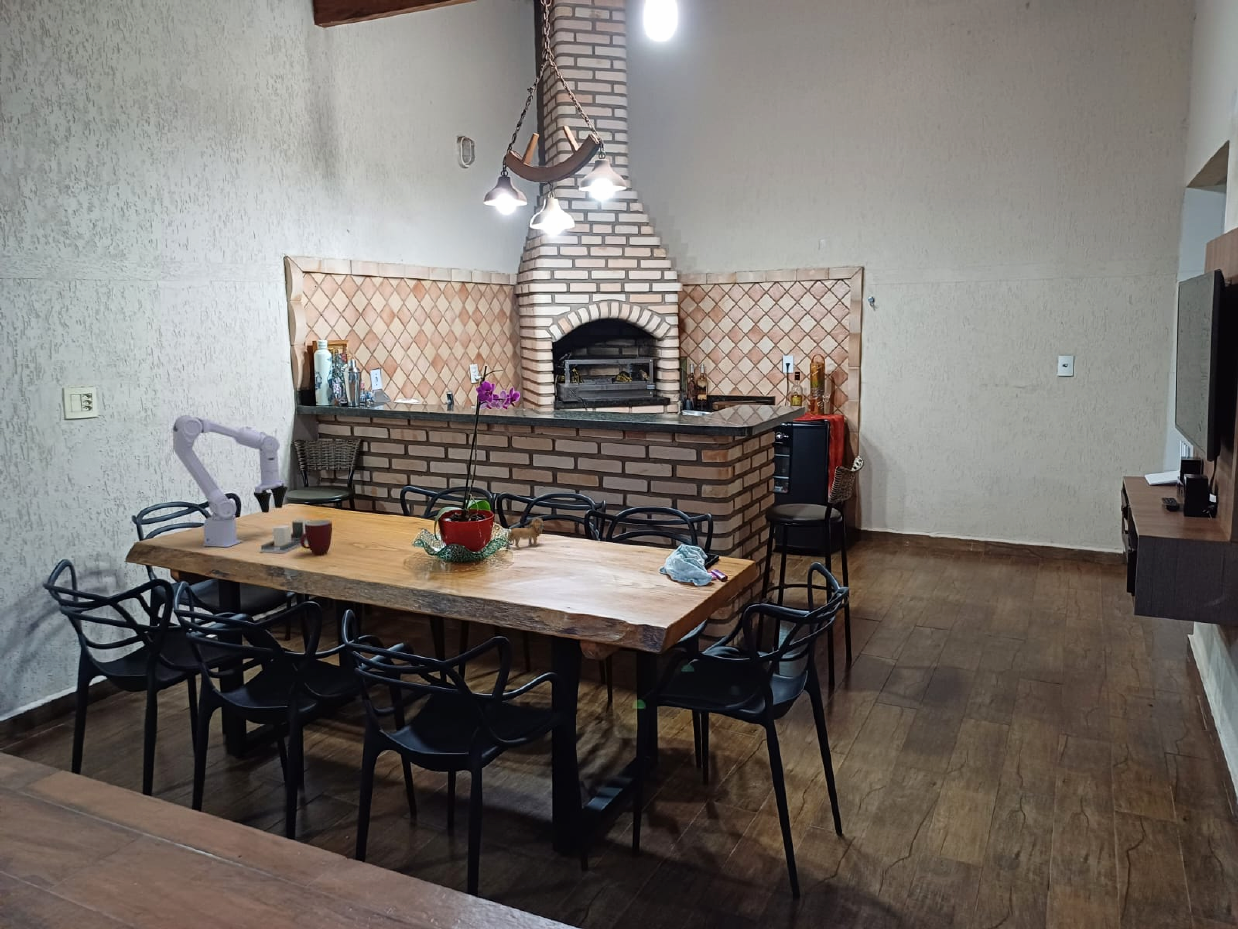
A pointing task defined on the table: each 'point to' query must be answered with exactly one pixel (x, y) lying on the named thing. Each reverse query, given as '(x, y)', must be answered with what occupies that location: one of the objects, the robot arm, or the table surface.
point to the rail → (296, 536)
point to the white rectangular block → (282, 535)
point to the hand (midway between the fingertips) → (272, 510)
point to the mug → (317, 536)
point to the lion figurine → (526, 533)
